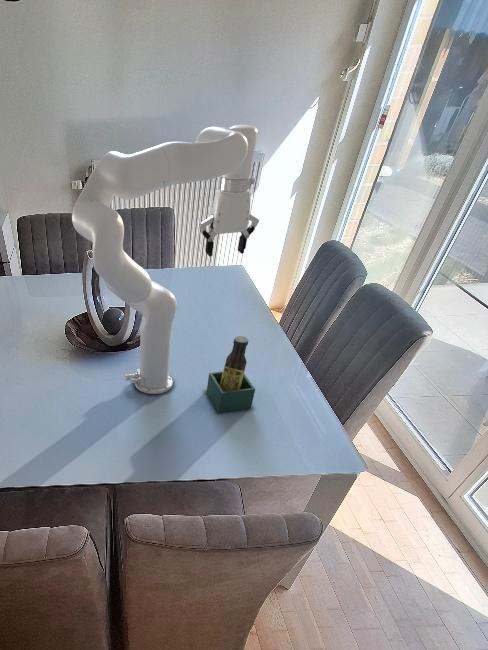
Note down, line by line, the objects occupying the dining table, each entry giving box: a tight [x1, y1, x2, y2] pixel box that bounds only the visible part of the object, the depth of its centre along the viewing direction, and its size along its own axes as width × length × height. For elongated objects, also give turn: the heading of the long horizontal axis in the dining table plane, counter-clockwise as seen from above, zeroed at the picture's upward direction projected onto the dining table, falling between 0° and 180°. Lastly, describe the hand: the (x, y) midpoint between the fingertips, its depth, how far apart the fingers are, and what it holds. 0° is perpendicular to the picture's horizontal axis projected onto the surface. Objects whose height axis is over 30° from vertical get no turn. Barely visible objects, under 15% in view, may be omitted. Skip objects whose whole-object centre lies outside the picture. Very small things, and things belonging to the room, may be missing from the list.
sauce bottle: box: [220, 335, 249, 392], centre depth 137 cm, size 7×6×20 cm
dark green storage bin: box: [206, 371, 256, 413], centre depth 143 cm, size 11×12×7 cm
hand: (224, 253), depth 134 cm, fingers open, 9 cm apart
